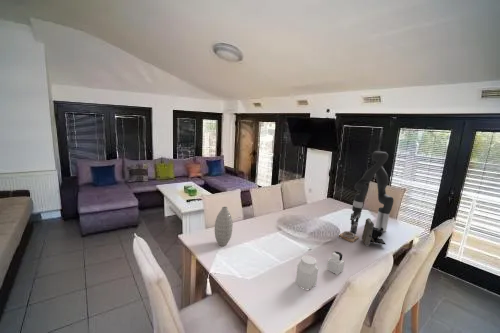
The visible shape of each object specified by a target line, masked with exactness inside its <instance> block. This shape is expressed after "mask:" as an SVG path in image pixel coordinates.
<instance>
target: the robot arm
mask: <svg viewBox="0 0 500 333" xmlns="http://www.w3.org/2000/svg"><path fill="white" fill-rule="evenodd" d="M388 158H389V154H388V153H387V151H381V150H380V151H379V150H375V151H373V152H372V154H371V159H372V164H373V165H372V166H371V167H370V168H368V169H367V170H366V171H365V172H364V174H363V175H362V177H360V179H359V180H358V181H356V183H355V184H354V190H355V191H357V192H359V193H356V194H355V196H354V198H353V199H354V200H353V202H352V208H351V210H352V213H351V214H350V219H349V220H350V226H351V225H354V221H356V222H358V223H359V220H360V218H361V215H362V211H363V206H364V198H365V197H366V195H367V192H368V191H369V187H368V185H367V184H370V183H371V181H372V179H373V178H374V176H375V179H376V186H377V198H378V200H377V201H378V202H379V203H380V204H382V205H383V206H382V207H378V209H377V210H378V211H377V216H376V221H375V224H374V227H375V228H378V229H379V230H380V229H381V227H382V228H383V229H384V230H383V231H381V232H382V233H384V232H385V233H386V232H387V228H388V224H389V219H390V214H391V212H392V208H393V205H394V198H393V197H392V196H390V195H388V194H387V192H386V188H387V187H388V185H389V182H390V181H389V176H388V175H389V174H388V173H387V171H386V170H385V168H384V164H386V162H387V161H388Z"/></svg>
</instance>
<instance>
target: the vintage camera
mask: <svg viewBox="0 0 500 333" xmlns="http://www.w3.org/2000/svg"><path fill="white" fill-rule="evenodd" d="M383 230H384V229H383V228H382V227H381V229H380V230H379V229H378V228H375V223H374V222H373V221H372V219H371V218H366V219H365V222H364V227H363V231H362V235H361V239H362V241H363V243H364V245H365V246H369V245H370V244H371V243H373V244H378V245H379V244H380V245H384V246H385V245H387V243H386V242H385V241H384V240H383V238H381V237H382V236H383V234H384V232H382V231H383Z"/></svg>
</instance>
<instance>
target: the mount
mask: <svg viewBox="0 0 500 333" xmlns="http://www.w3.org/2000/svg"><path fill="white" fill-rule="evenodd" d="M338 235H339V234H338ZM338 238H341V239H343V240H345V241H348V242H349V243H352V244H353V243H354V242H356V241H358V240H359V239H360V237H359V236H357V235H356V234H354V233H351V232H350V231H343V232H342V233H340V235H339V237H338Z"/></svg>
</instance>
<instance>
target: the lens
mask: <svg viewBox="0 0 500 333" xmlns="http://www.w3.org/2000/svg"><path fill="white" fill-rule="evenodd" d="M358 225H359V221H358V222H356V221H355V220H354V225H351V224H350V229H349V232H351V233H354V235H357V231H358V227H359V226H358Z"/></svg>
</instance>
